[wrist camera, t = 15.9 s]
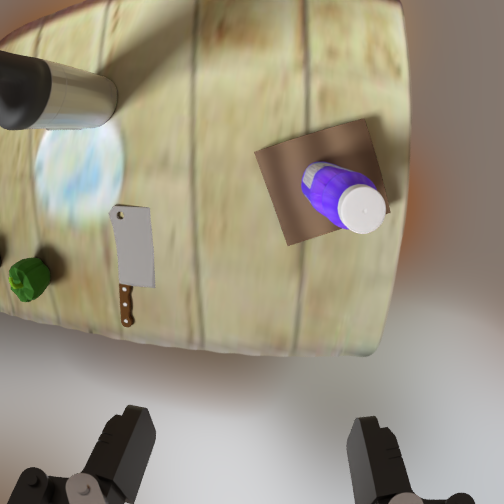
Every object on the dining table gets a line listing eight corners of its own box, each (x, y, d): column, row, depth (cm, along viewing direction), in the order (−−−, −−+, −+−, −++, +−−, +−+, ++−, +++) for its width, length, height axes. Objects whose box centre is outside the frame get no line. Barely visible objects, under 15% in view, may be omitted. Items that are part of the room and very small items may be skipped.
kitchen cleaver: (159, 334, 55) (112, 324, 54) (160, 331, 55) (114, 321, 55) (164, 208, 46) (108, 201, 46) (165, 207, 47) (111, 200, 47)
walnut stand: (286, 237, 47) (287, 246, 43) (255, 151, 43) (254, 152, 39) (381, 206, 44) (390, 212, 40) (356, 120, 40) (364, 118, 36)
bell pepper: (56, 293, 54) (29, 316, 45) (30, 281, 54) (3, 301, 44) (55, 258, 51) (25, 278, 42) (28, 247, 51) (-2, 265, 41)
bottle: (356, 172, 39) (410, 192, 23) (344, 210, 41) (387, 253, 25) (307, 155, 39) (333, 162, 22) (295, 194, 41) (311, 229, 24)
